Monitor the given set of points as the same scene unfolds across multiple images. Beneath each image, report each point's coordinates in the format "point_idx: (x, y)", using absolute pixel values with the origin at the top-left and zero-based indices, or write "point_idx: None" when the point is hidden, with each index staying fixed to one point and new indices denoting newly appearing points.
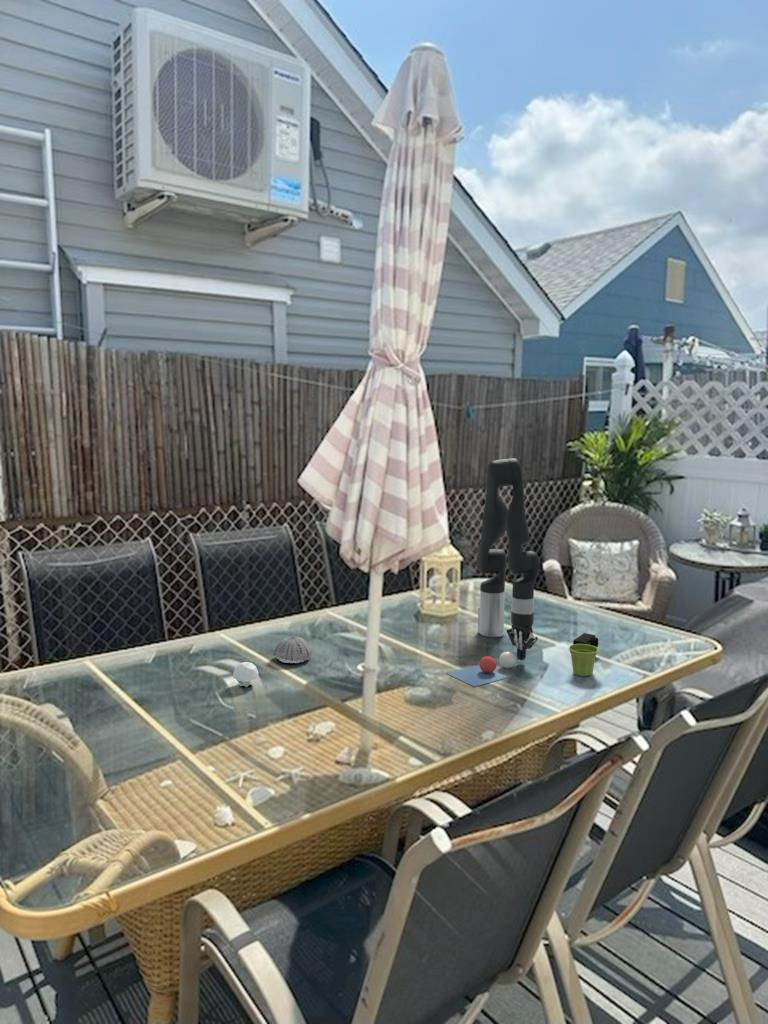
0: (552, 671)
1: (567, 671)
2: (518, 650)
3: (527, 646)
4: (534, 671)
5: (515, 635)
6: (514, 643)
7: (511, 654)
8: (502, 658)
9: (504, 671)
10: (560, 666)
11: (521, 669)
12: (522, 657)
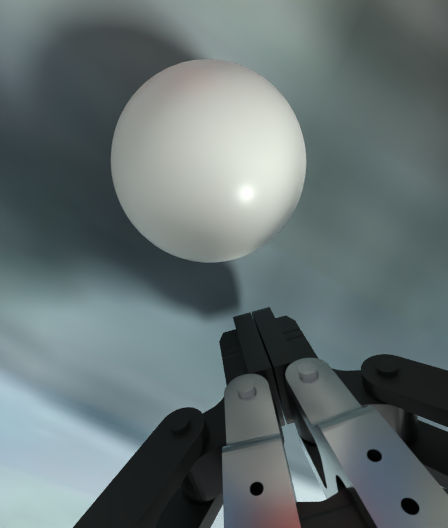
0: (36, 437)
1: (17, 510)
2: (279, 357)
3: (123, 475)
4: (63, 330)
5: (426, 514)
6: (375, 381)
7: (153, 201)
8: (178, 66)
9: (125, 83)
10: None
11: (132, 259)
12: (223, 342)
